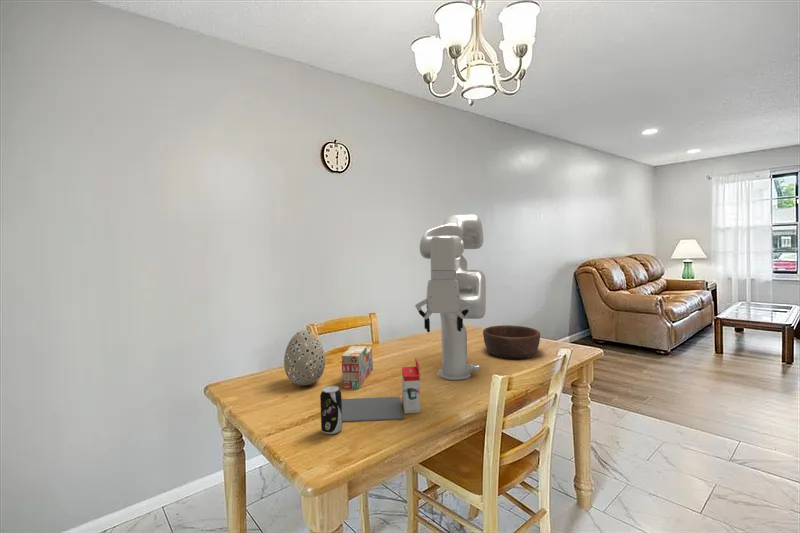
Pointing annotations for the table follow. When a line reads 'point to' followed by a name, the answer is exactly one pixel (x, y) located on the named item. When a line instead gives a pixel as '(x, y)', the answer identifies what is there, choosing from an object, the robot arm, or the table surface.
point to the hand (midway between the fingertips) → (443, 330)
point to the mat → (371, 409)
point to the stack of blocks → (356, 366)
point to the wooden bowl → (511, 341)
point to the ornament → (304, 358)
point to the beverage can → (331, 410)
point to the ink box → (411, 389)
